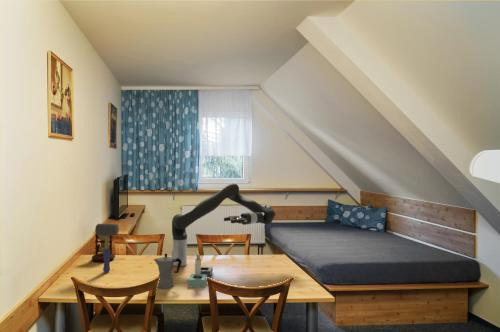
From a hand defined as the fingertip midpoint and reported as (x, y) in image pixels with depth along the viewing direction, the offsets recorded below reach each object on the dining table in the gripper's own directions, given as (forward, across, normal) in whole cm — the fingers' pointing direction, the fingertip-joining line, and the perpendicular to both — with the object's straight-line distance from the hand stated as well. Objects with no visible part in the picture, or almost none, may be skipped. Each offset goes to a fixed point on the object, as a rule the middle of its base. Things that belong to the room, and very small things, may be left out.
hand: (227, 220), depth 229 cm
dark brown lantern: (+61, -63, +32) cm, 93 cm away
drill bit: (+26, +12, +32) cm, 43 cm away
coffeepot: (+42, +7, +32) cm, 53 cm away
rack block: (+26, +12, +32) cm, 43 cm away
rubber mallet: (+65, -34, +32) cm, 80 cm away
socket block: (+16, +1, +32) cm, 36 cm away
